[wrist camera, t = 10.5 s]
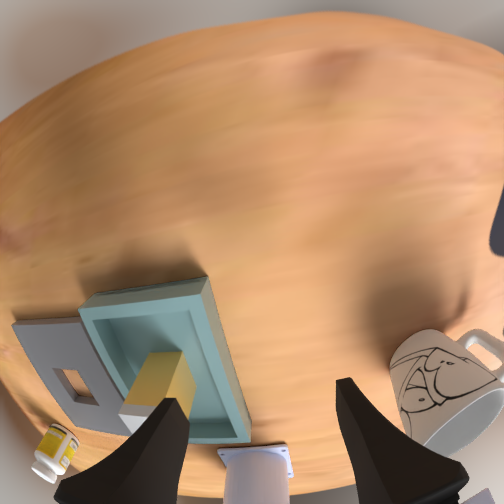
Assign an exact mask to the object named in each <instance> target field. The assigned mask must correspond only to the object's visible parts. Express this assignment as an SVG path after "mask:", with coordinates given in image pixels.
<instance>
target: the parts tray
mask: <svg viewBox="0 0 504 504" xmlns="http://www.w3.org/2000/svg"><path fill="white" fill-rule="evenodd" d="M78 311H79V313H80V316H81V318H82V320H83V322H84V325H85V327H86V329H87V331H88V333H89V335H90V337H91V339H92V341H93V343H94V345H95V347H96V349H97V351H98V353H99V355H100V357H101V359H102V361H103V363H104V364H105V366H106V368H107V370H108V372H109V373H110V375H111V377H112V379H113V380H114V382H115V384H116V385H117V387H118V389H119V390H120V392H121V394H122V395H123V397H124V398H125V399H126V397H127V395H128V393H129V391H130V389H131V387H132V385H133V383H134V381H135V379H136V377H137V375H138V374H139V372H140V370H141V368H142V366H143V364H144V362H145V360H146V358H147V356H148V354H149V353H157V352H179V351H183V353H184V356H185V359H186V361H187V364H188V366H189V369H190V371H191V374H192V376H193V379H194V381H195V384H196V386H197V388H196V391H195V395H194V399H193V403H192V407H191V411H190V415H189V419H188V421H189V422H190V430H189V440H188V443H193V444H226V443H248V442H251V422H252V421H251V418H250V415H249V412H248V409H247V406H246V403H245V400H244V397H243V394H242V390H241V387H240V384H239V381H238V378H237V375H236V372H235V368H234V365H233V362H232V359H231V355H230V352H229V349H228V345H227V342H226V338H225V335H224V332H223V328H222V325H221V321H220V318H219V314H218V310H217V307H216V303H215V300H214V296H213V292H212V288H211V285H210V281H209V277H208V276H207V277H201V278H194V279H188V280H181V281H175V282H168V283H162V284H155V285H149V286H142V287H135V288H128V289H121V290H114V291H107V292H100V293H95V294H94V295H92V296H91V297H90V298H89V299H88V300H87V301H86V302H85V303H84V304H83V305H81V306H80V307H79V308H78Z"/></svg>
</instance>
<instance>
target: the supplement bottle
mask: <svg viewBox="0 0 504 504" xmlns="http://www.w3.org/2000/svg"><path fill="white" fill-rule="evenodd" d="M78 445H79V441H78V439H77V438H76V437H75V436H74V435H73V434H72V433H71V432H70V431H69V430H67V429H66V428H64V427H63V426H61V425H58V424H52V425H51V426H50V428H49V429H48V431H47V432H46V434H45V436H44V437H43V439H42V441H41V442H40V444H39V446H38V447H37V449H36V451H35V457H36V459H37V462H35V463H33V465H32V469H33V470H34V471H35V472H36V473H37V474H38V475H39V476H41V477H42V478H44V479H45V480H47V481H49V482H51V483H53V484H54V483H55V481H56V479H57V476H56V475H57V474H58V475H62V474H64V473H65V471H66V469H67V467H68V465H69V463H70V461H71V459H72V457H73V455H74V453H75V452H76V450H77V448H78Z"/></svg>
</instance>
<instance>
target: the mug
mask: <svg viewBox="0 0 504 504" xmlns="http://www.w3.org/2000/svg"><path fill="white" fill-rule="evenodd" d="M474 343H476V344H479V345H481V346H482V347H484V348H485V349H486V350H488V351H489V352H491V353H492V354H493V355H495V356H496V357H497V358H499V359H500V360H501V361H502V363H503V364H502V366H501V367H499V368H498V369H496V370H494V371H490V370H489V369H488V368H487V367H486V366H485V365H484V364H483V363H482V362H481V361H480V360H479V359H478V358H476V357H475V356H474V355H473V354H472V353H470V352H469V351H468V350H467V349H468V347H469V346H470V345H472V344H474ZM389 369H390V377H391V381H392V385H393V389H394V393H395V397H396V402H397V406H398V410H399V414H400V417H401V420H402V423H403V426H404V429H405V432H406V435H407V436H409V437H410V438H411V439H413V440H414V441H416V442H418V443H419V444H421V445H423V446H425V447H426V448H428V449H430V450H432V451H434V452H436V453H438V454H440V455H442V456H445V457H449V456H451V455H453V454H454V453H456V452H458V451H459V450H461V449H463V448H464V447H465V446H467V445H468V444H470V443H471V442H472V441H473V440H475V439H476V438H477V437H478V436H479V435H480V434H482V433H483V432H484V430H486V429H487V428H488V426H489V425H490V424H491V423H492V422H493V421H494V420H495V418H496V417H497V415H498V414H499V413H500V411H501V409H502V408H503V406H504V384H503V382H504V342H503V341H501V340H499V339H497V338H495V337H493V336H492V335H490V334H489V333H487V332H486V331H484V330H481V329H473V330H470V331H468V332H467V333H465V334H464V335H463V336H461V337H460V338H459V339H458V340H457V341H454V340H452V339H451V338H449V337H448V336H446V335H445V334H443V333H442V332H440V331H438V330H434V329H426V330H422V331H419V332H417V333H415V334H413V335H412V336H410V337H409V338H407V339H406V340H405V341H404V342H403V343H402V344H401V345H400V346H399V347H398V349H397V350H396V351H395V353H394V355H393V357H392V359H391V362H390V368H389Z"/></svg>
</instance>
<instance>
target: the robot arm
mask: <svg viewBox="0 0 504 504" xmlns="http://www.w3.org/2000/svg"><path fill="white" fill-rule="evenodd" d="M336 412H337V417H338V422H339V426H340V430H341V433H342V436H343V439H344V442H345V445H346V448H347V451H348V454H349V457H350V460H351V463H352V467H353V470H354V475H355V480H356V486H357V491H358V497H359V504H459V503H458V500H459V499H460V498H459V495H458V492H459V491H460V490H461V489H462V488H463V487H464V486H465V485H466V484H467V483H468V481H469V476H468V473H467V472H466V470H465V468H464V467H463V466H462V464H461V463H460V462H458V461H455V460H452V459H450V458H447V457H445V456H442V455H440V454H438V453H436V452H434V451H432V450H430V449H428V448H426V447H425V446H423V445H421V444H419V443H418V442H416V441H414V440H413V439H411V438H410V437H409V436H407V435H406V434H404V433H403V432H402V431H400V430H399V429H398V428H397V427H395V426H394V425H393V424H392V423H391V422H390V421H389V420H387V419H386V418H385V417H384V416H383V415H382V414H381V413H380V412H379V411H378V410H377V409H376V408H375V407H374V406H373V405H372V403H371V402H370V401H369V400H368V399H367V398H366V397H365V395H364V394H363V393H362V392H361V391H360V389H359V388H358V387H357V385H356V384H355V383H354V381H353V380H352V378H350V377H348V378H344V379H339V380H336ZM189 430H190V422H189V421H188V419H187V417H186V415H185V414H184V412H183V410H182V408H181V406H180V404H179V403H178V401H177V399H176V398H164V399H163V400H162V401H161V402H160V403H159V404H158V406H157V407H156V408H155V409H154V410H153V412H152V413H151V414H150V415H149V416H148V418H147V419H146V420H145V421H144V422H143V423H142V425H141V426H140V427H139V428H138V429H137V430H136V431H135V432H134V433H133V434H132V435H131V436H130V437H129V438H128V439H127V440H126V441H125V442H124V443H123V444H122V445H121V446H120V447H119V448H118V449H116V450H115V451H114V452H113V453H111V454H110V455H109V456H107V457H106V458H104V459H103V460H102V461H100V462H99V463H97V464H95V465H94V466H92V467H90V468H89V469H87V470H85V471H83V472H81V473H79V474H76V475H74V476H71V477H69V478H66V479H63V480H61V482H60V484H59V486H58V489H57V490H56V493H55V495H54V499H55V500H56V501H57V502H58V503H59V504H176V501H177V491H178V483H179V478H180V473H181V469H182V465H183V461H184V457H185V453H186V449H187V445H188V440H189ZM217 453H218V454H219V456H220V458H221V459H222V461H223V463H224V464H225V466H226V468H227V471H226V480H225V490H224V499H223V504H290V502H289V484H288V478H292V477H294V474H293V469H292V464H291V460H290V455H289V451H288V446H287V445H286V444H280V445H271V446H260V447H245V448H220V449H218V450H217ZM461 504H495V502H494V500H493V498H492V496H491V493H490V491H489V489H488V488H485V489H484V490H482V491H481V492H479V493H478V494H476V495H475V496H473V497H471V498H469V499H468V500H466V501H465V502H463V503H461Z"/></svg>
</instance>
